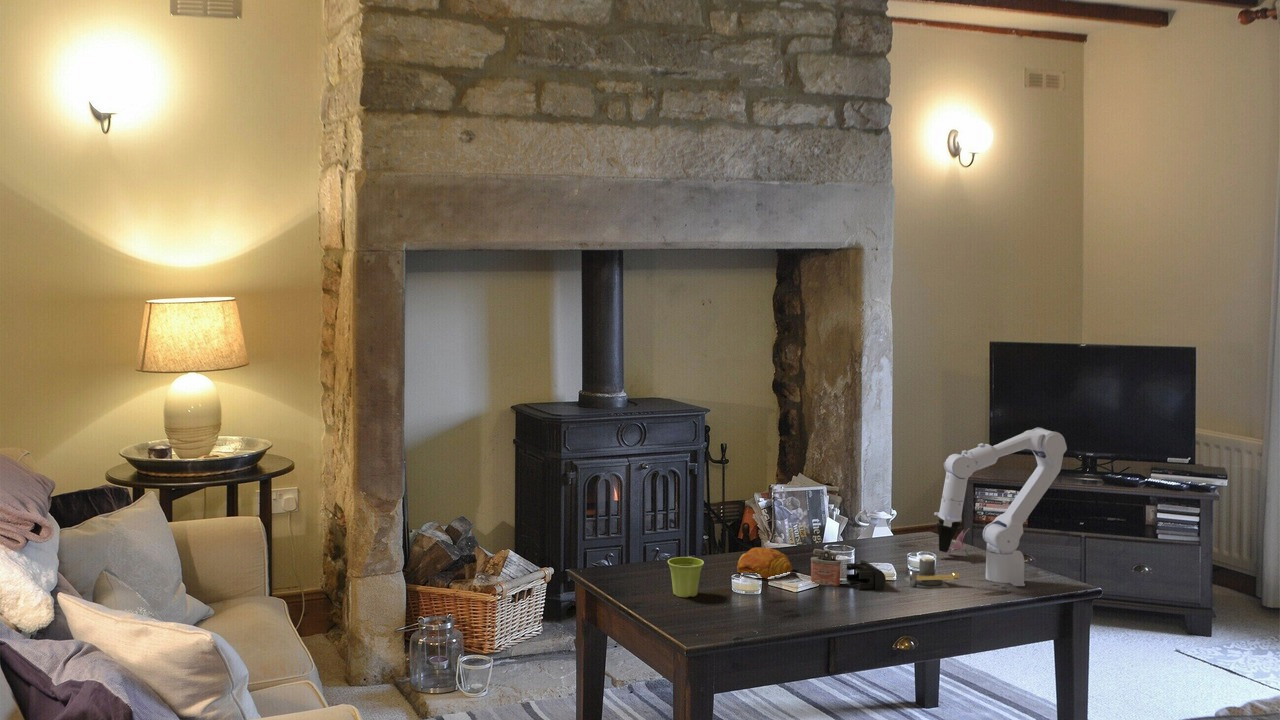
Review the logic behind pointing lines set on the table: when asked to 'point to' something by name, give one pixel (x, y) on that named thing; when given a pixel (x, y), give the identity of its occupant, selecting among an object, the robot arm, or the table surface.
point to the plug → (927, 572)
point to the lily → (958, 544)
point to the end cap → (866, 576)
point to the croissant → (764, 562)
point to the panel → (926, 586)
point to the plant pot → (685, 575)
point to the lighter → (825, 568)
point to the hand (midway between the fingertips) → (944, 549)
